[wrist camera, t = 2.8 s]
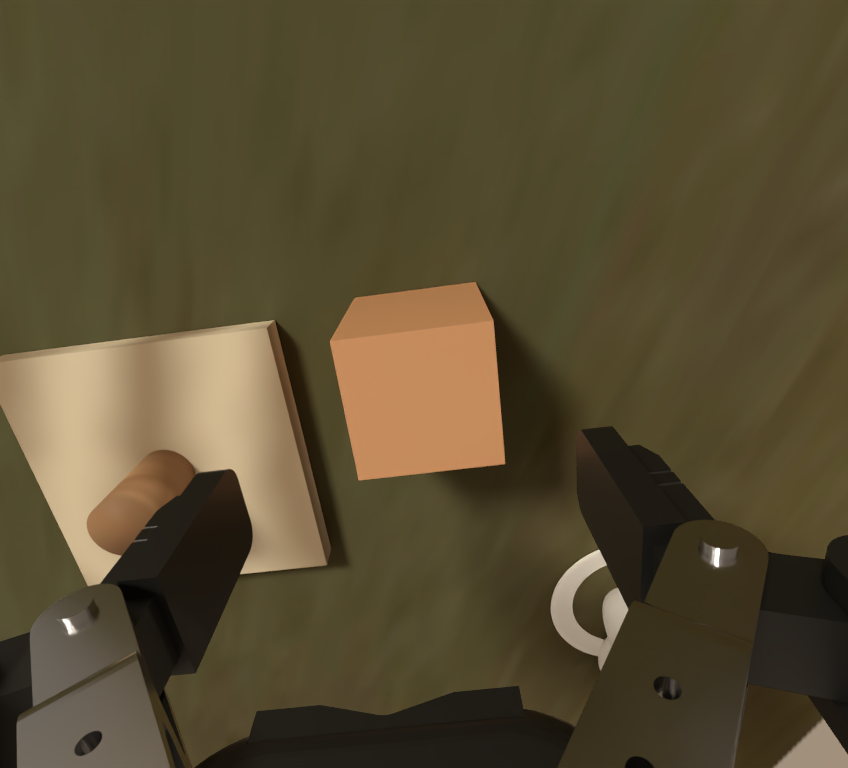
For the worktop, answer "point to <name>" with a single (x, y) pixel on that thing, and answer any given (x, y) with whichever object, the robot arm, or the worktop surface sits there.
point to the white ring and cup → (564, 616)
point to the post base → (165, 438)
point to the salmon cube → (420, 381)
